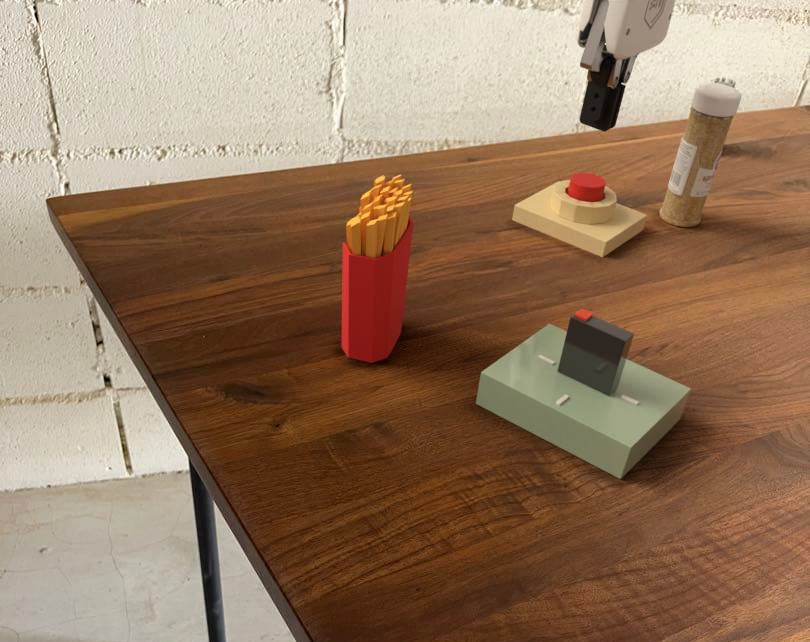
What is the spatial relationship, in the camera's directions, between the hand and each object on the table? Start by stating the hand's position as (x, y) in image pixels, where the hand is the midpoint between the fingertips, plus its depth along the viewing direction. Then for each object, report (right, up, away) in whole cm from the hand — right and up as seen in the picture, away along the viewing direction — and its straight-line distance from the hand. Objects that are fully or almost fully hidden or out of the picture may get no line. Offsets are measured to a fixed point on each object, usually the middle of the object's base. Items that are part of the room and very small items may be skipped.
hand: (596, 125), depth 87 cm
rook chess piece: (+19, +9, +26) cm, 34 cm away
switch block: (0, -7, +7) cm, 10 cm away
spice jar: (+11, -6, +10) cm, 16 cm away
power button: (0, -5, +5) cm, 7 cm away
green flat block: (-5, -31, -17) cm, 35 cm away
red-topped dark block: (-5, -28, -19) cm, 34 cm away
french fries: (-22, -24, -12) cm, 34 cm away
